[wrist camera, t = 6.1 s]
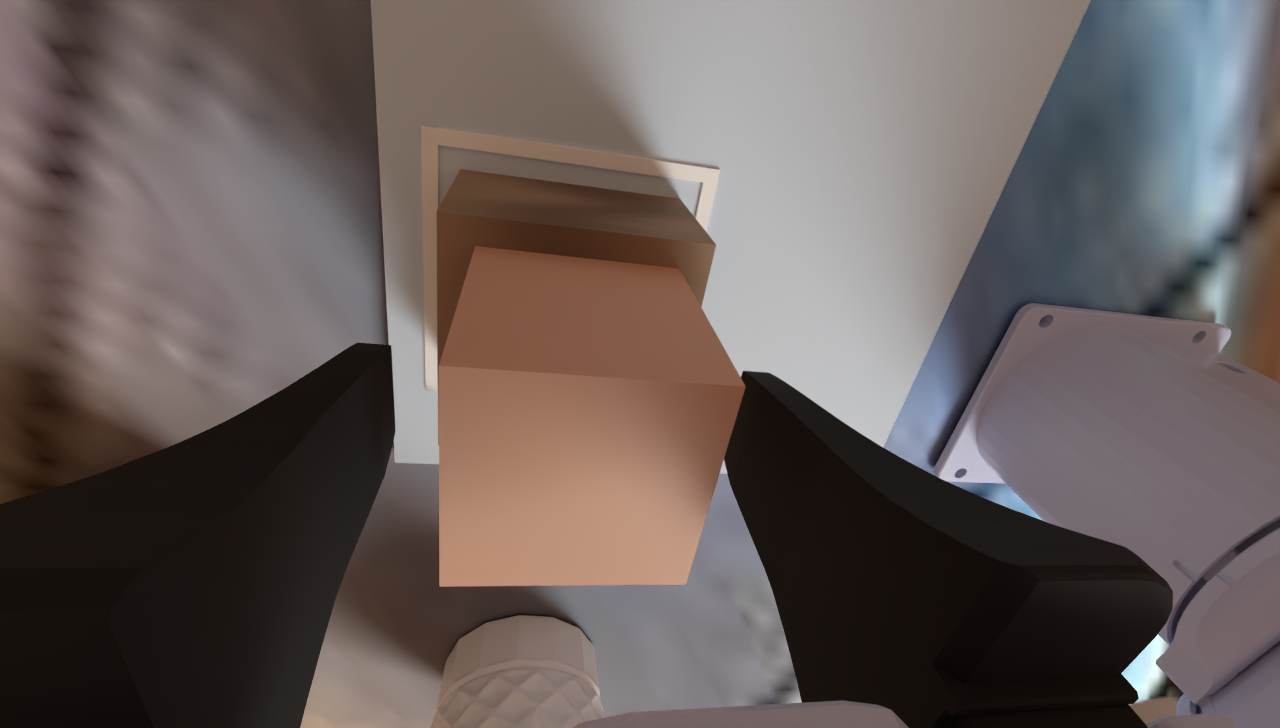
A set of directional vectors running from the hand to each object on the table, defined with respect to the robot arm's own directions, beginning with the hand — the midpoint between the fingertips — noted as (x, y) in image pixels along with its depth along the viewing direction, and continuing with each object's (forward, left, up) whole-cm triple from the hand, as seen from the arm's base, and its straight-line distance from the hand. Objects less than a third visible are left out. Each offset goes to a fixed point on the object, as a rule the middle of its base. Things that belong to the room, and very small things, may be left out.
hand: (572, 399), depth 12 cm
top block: (0, 0, -2) cm, 2 cm away
